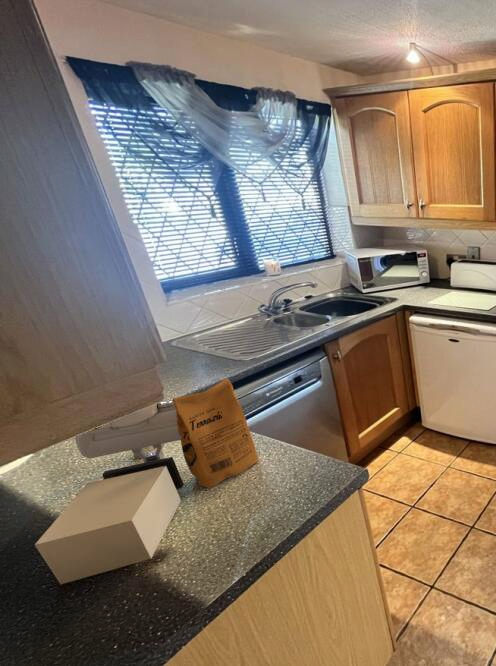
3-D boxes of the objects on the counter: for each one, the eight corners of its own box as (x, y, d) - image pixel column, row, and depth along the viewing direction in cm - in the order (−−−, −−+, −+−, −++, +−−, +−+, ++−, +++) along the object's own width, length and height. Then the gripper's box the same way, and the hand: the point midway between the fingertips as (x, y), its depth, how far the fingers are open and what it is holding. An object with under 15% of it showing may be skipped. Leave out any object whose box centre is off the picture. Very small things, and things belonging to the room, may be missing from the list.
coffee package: (189, 474, 90) (156, 394, 82) (248, 446, 99) (223, 372, 91) (203, 494, 85) (169, 410, 76) (264, 463, 94) (239, 384, 86)
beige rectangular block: (106, 519, 79) (86, 483, 75) (181, 500, 83) (166, 465, 79) (60, 584, 66) (34, 544, 62) (151, 558, 70) (131, 520, 67)
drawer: (129, 486, 86) (115, 458, 83) (190, 471, 90) (179, 444, 87) (81, 552, 71) (63, 521, 68) (158, 532, 75) (143, 502, 72)
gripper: (195, 391, 88) (213, 440, 93) (79, 411, 81) (105, 463, 86) (185, 405, 83) (205, 456, 88) (60, 428, 76) (89, 482, 81)
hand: (155, 460), depth 87 cm, fingers closed, pressing on drawer
